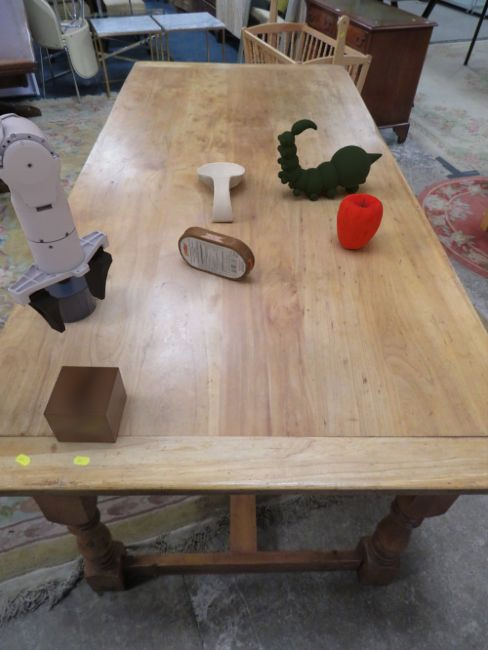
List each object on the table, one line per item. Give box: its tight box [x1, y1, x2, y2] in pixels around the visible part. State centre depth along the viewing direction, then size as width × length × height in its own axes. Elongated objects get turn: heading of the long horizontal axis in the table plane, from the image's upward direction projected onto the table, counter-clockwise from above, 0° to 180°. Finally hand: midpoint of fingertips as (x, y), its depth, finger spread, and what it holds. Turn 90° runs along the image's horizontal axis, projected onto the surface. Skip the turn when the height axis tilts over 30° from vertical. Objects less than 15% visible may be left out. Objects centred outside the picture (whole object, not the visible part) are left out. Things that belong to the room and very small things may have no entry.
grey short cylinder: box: [59, 288, 98, 324], centre depth 74 cm, size 8×8×5 cm
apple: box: [336, 192, 384, 250], centre depth 87 cm, size 9×9×11 cm
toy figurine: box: [276, 118, 383, 201], centre depth 100 cm, size 9×19×25 cm
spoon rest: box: [196, 161, 246, 223], centre depth 101 cm, size 24×12×7 cm, turn 4°
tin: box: [177, 226, 256, 281], centre depth 80 cm, size 15×3×8 cm, turn 65°
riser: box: [42, 365, 128, 444], centre depth 58 cm, size 8×8×6 cm
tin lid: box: [45, 275, 88, 300], centre depth 71 cm, size 9×9×4 cm
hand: (79, 312), depth 61 cm, fingers open, 7 cm apart
